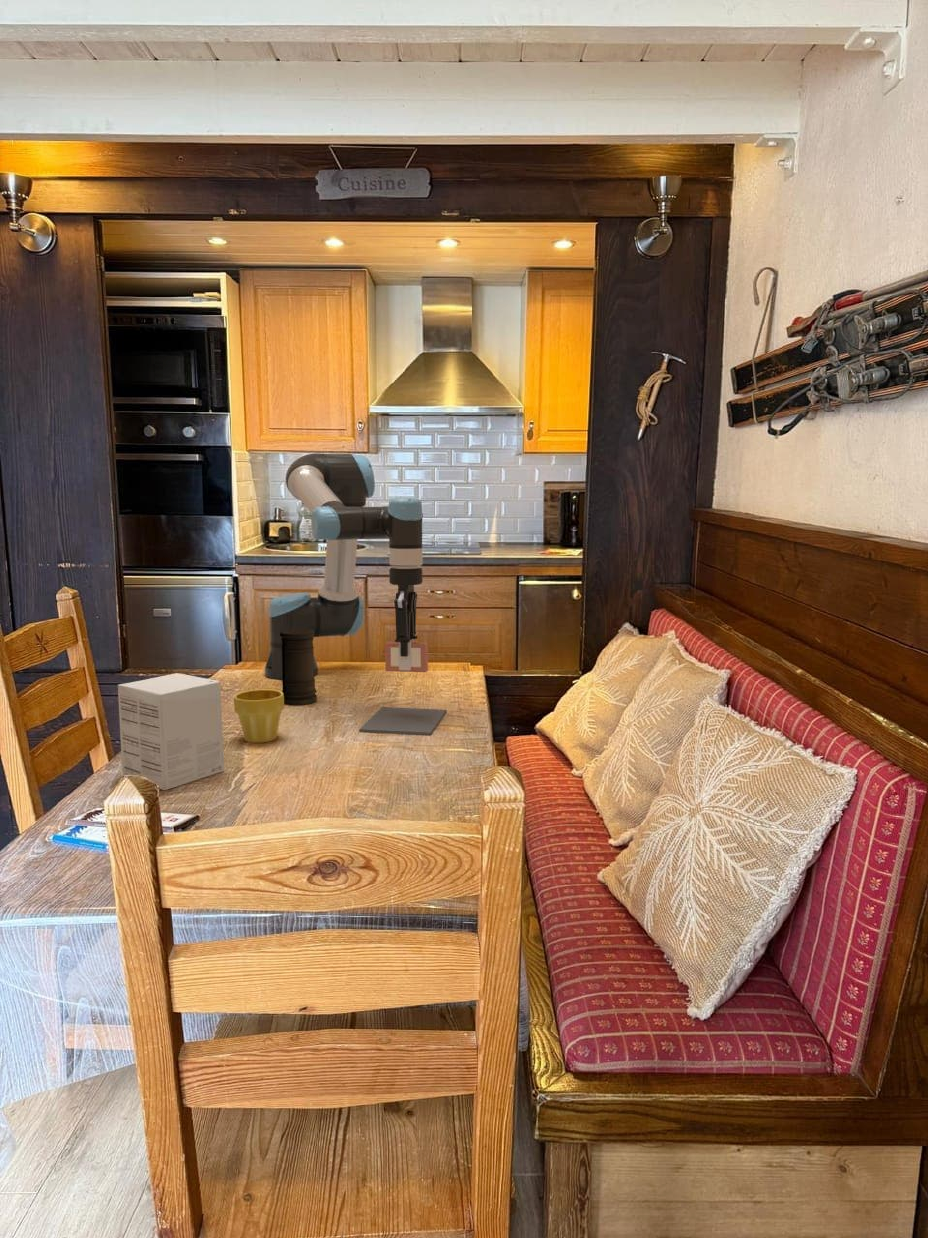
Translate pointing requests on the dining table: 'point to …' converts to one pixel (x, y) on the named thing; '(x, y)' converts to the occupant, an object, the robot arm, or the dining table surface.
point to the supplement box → (171, 729)
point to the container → (298, 667)
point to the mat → (404, 721)
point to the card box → (417, 657)
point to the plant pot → (259, 713)
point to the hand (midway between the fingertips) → (406, 668)
